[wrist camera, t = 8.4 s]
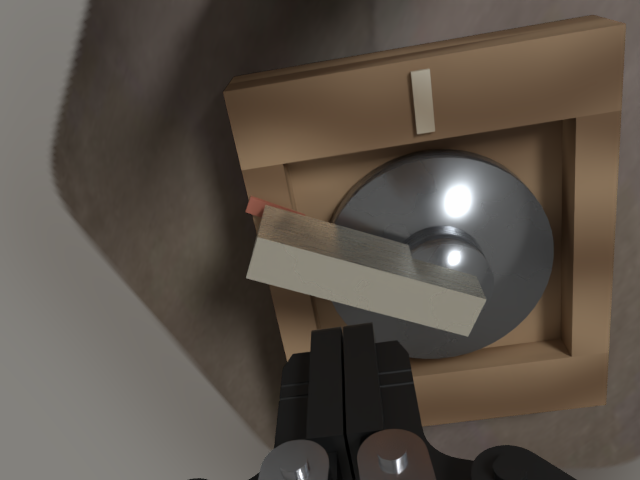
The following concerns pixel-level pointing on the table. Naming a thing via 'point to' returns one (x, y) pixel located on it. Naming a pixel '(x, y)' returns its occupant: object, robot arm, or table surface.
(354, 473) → the robot arm
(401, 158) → the dial
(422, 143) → the wooden tray
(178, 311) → the table surface
